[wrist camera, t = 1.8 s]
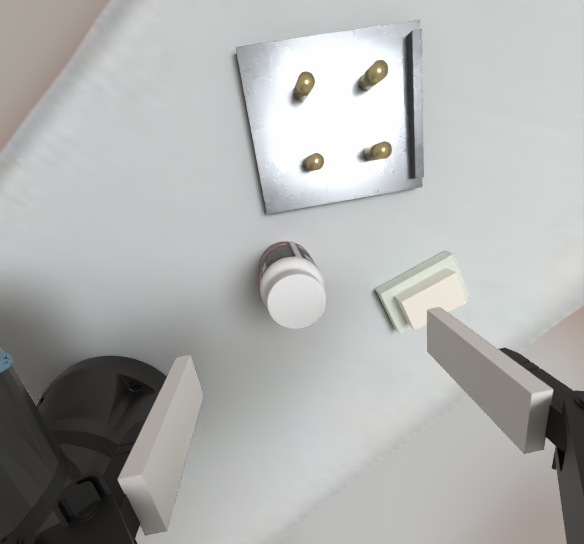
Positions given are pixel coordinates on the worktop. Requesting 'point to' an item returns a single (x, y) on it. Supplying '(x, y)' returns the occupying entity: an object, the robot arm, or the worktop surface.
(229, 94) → the worktop surface
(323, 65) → the plate
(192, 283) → the worktop surface
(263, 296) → the pill bottle
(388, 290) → the soap dish
